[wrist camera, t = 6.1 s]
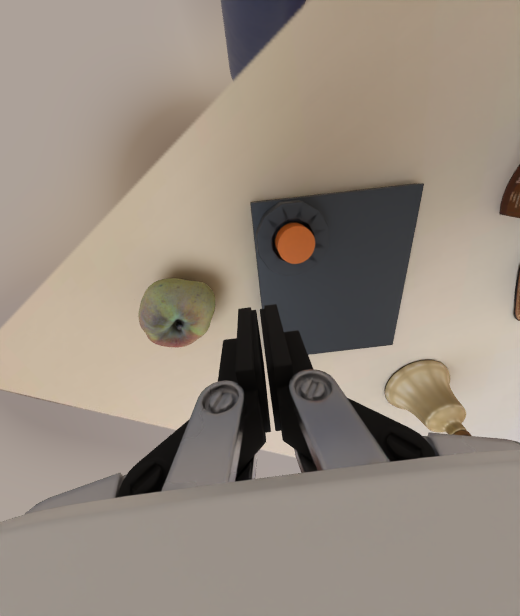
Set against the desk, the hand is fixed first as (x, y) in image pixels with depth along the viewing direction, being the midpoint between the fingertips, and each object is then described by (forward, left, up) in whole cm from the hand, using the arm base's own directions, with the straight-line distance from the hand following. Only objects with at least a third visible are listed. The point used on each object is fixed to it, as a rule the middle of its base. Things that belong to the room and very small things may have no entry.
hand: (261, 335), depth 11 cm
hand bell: (+19, +19, -13) cm, 30 cm away
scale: (+3, +7, -13) cm, 15 cm away
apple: (+3, -8, -13) cm, 16 cm away
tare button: (-2, +3, -10) cm, 11 cm away
